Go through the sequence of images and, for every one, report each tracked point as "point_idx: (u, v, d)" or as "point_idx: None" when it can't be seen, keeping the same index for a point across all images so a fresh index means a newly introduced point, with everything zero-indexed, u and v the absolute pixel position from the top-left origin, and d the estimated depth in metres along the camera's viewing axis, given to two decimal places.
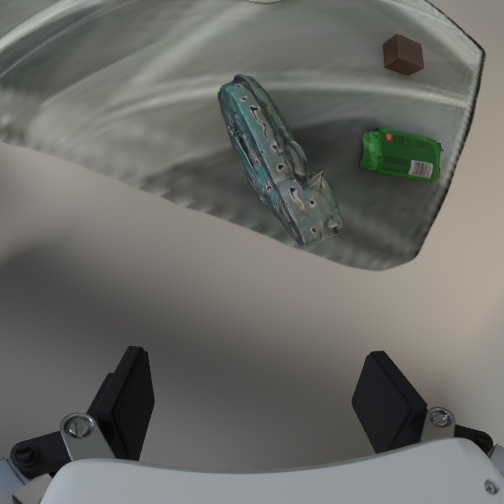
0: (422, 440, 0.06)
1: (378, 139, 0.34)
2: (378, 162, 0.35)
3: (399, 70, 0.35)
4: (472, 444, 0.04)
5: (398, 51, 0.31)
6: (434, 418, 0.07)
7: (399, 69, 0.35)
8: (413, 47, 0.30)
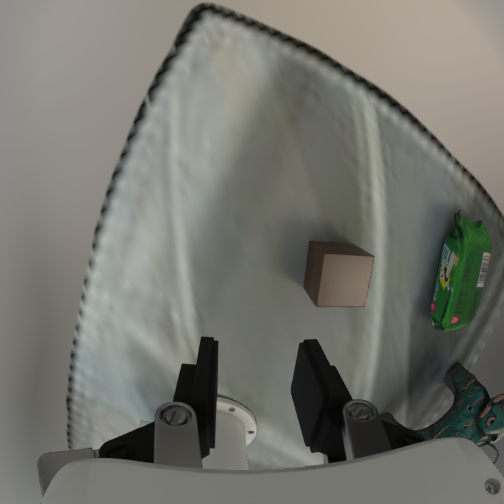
0: (352, 441, 0.06)
1: (452, 328, 0.28)
2: (467, 323, 0.28)
3: None
4: (472, 444, 0.04)
5: (351, 306, 0.25)
6: (353, 413, 0.07)
7: None
8: (336, 274, 0.24)
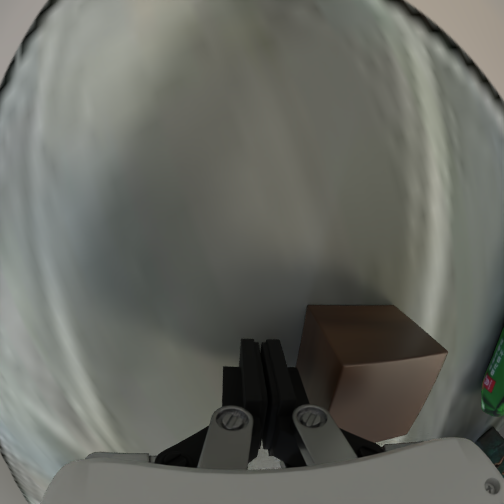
0: (311, 451, 0.06)
1: None
2: None
3: None
4: (472, 444, 0.04)
5: (383, 439, 0.10)
6: (304, 420, 0.07)
7: None
8: (365, 401, 0.09)
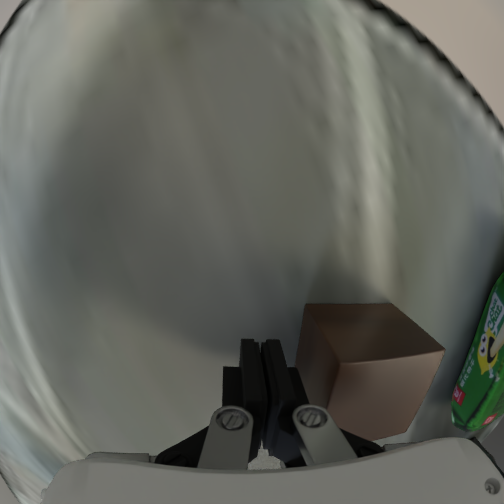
0: (311, 451, 0.06)
1: (482, 427, 0.12)
2: None
3: None
4: (472, 444, 0.04)
5: (382, 436, 0.10)
6: (304, 420, 0.07)
7: None
8: (363, 399, 0.09)
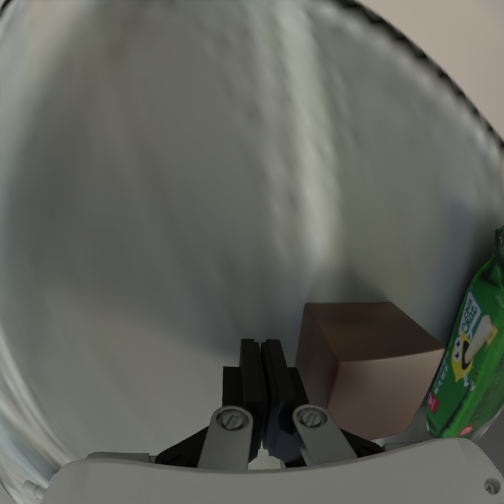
0: (311, 451, 0.06)
1: None
2: None
3: None
4: (472, 444, 0.04)
5: (382, 436, 0.10)
6: (304, 420, 0.07)
7: None
8: (363, 398, 0.09)
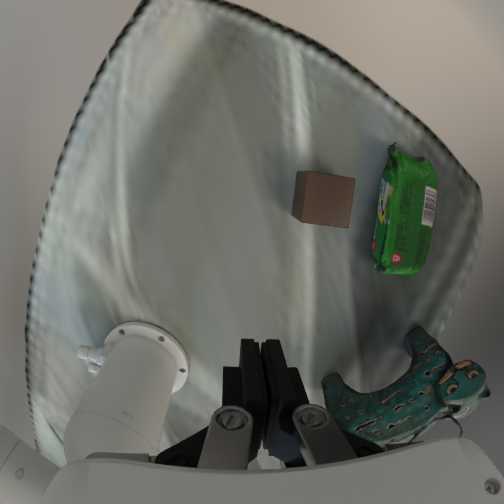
0: (311, 451, 0.06)
1: (396, 270, 0.29)
2: (417, 269, 0.30)
3: None
4: (472, 444, 0.04)
5: (335, 226, 0.27)
6: (304, 420, 0.07)
7: None
8: (319, 192, 0.26)
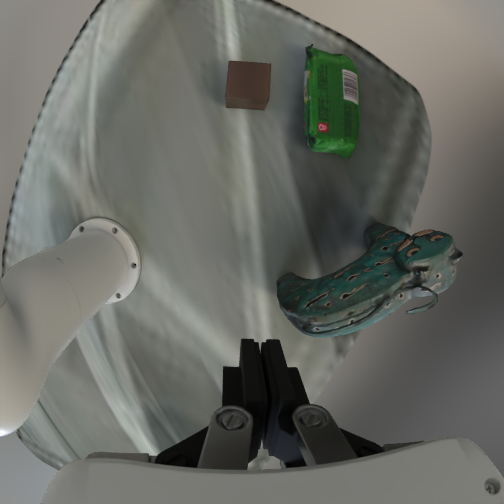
0: (311, 451, 0.06)
1: (326, 140, 0.31)
2: (350, 142, 0.32)
3: None
4: (472, 444, 0.04)
5: (256, 99, 0.29)
6: (304, 420, 0.07)
7: None
8: (240, 74, 0.28)
